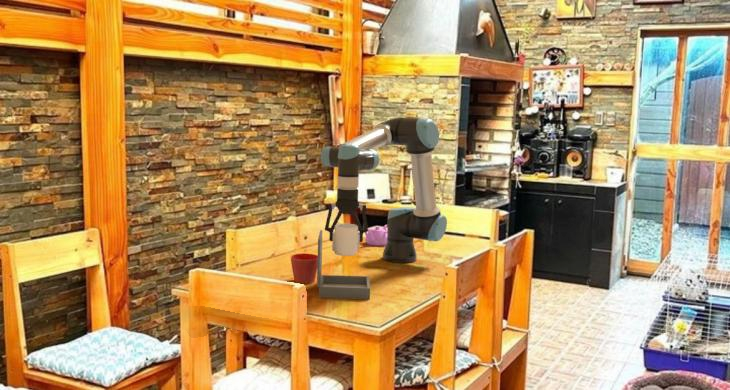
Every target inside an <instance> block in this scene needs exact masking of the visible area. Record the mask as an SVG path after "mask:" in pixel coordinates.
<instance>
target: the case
mask: <svg viewBox="0 0 730 390" xmlns="http://www.w3.org/2000/svg"><path fill="white" fill-rule="evenodd" d="M317 256H318V261H317V272H316V287H317V288H318V298H319V299H345V300H350V299H351V300H371V284H370V283H371V282H370V276H369V275H366V276H365V275H335V274H322V270H323V269H322V268H323V264H322V263H323V230H322V229H321V230H319V234H318V238H317Z"/></svg>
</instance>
